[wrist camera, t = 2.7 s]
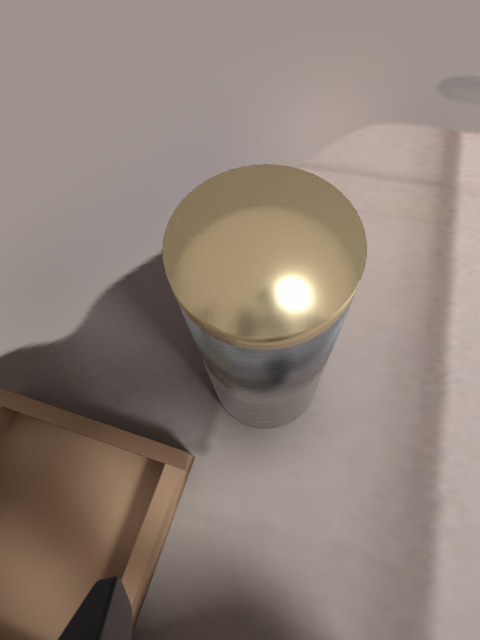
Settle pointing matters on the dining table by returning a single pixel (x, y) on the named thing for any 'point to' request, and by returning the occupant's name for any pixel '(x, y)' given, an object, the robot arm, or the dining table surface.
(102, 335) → the dining table surface
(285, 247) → the tea tin
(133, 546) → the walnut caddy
